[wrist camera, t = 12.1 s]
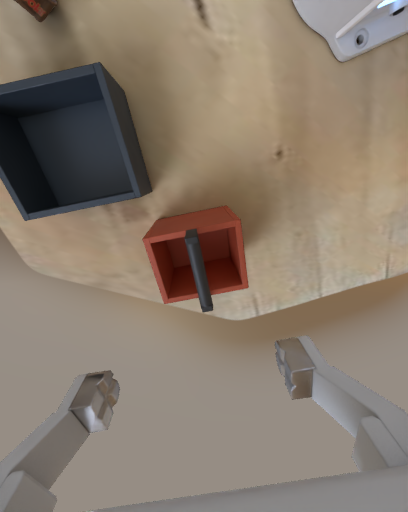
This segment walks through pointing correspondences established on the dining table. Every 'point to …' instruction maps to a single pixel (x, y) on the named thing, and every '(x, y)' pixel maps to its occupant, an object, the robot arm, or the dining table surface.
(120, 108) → the slate bin
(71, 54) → the dining table surface
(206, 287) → the terracotta bin
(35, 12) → the tin
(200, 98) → the dining table surface
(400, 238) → the dining table surface
